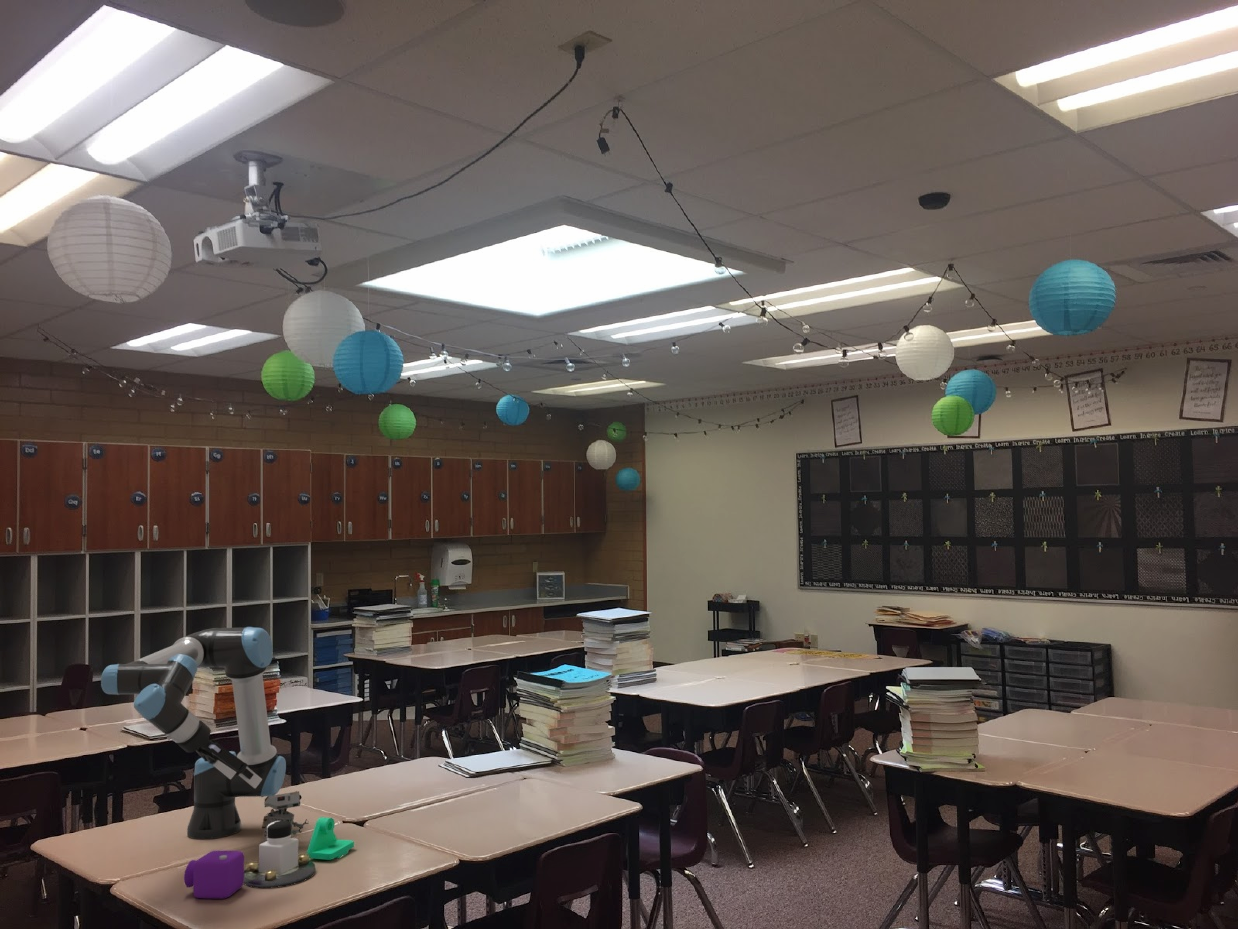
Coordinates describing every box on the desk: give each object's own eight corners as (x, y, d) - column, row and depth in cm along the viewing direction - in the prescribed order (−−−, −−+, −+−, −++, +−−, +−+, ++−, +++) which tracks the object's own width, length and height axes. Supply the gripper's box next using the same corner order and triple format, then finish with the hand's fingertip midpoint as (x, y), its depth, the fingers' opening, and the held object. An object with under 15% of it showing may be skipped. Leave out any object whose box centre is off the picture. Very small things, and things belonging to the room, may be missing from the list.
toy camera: (192, 887, 244) (192, 847, 245) (246, 884, 245) (247, 844, 246) (176, 903, 233) (176, 861, 234) (233, 900, 235) (234, 858, 235)
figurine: (300, 851, 271) (300, 797, 273) (258, 852, 271) (259, 798, 272) (308, 840, 281) (308, 788, 282) (268, 842, 280) (269, 790, 281)
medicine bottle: (298, 866, 254) (298, 819, 254) (280, 875, 247) (281, 827, 248) (276, 863, 256) (276, 817, 257) (258, 872, 249) (258, 825, 250)
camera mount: (330, 864, 260) (331, 825, 261) (306, 862, 263) (307, 823, 263) (355, 850, 272) (355, 813, 272) (332, 848, 274) (332, 811, 275)
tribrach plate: (230, 877, 251) (230, 863, 251) (293, 859, 264) (293, 846, 264) (262, 893, 239) (263, 879, 239) (327, 874, 252) (327, 860, 252)
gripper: (157, 737, 246) (214, 783, 256) (199, 752, 229) (259, 800, 240) (178, 713, 250) (233, 759, 261) (221, 726, 233) (278, 774, 244)
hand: (245, 779), depth 250 cm, fingers open, 13 cm apart
